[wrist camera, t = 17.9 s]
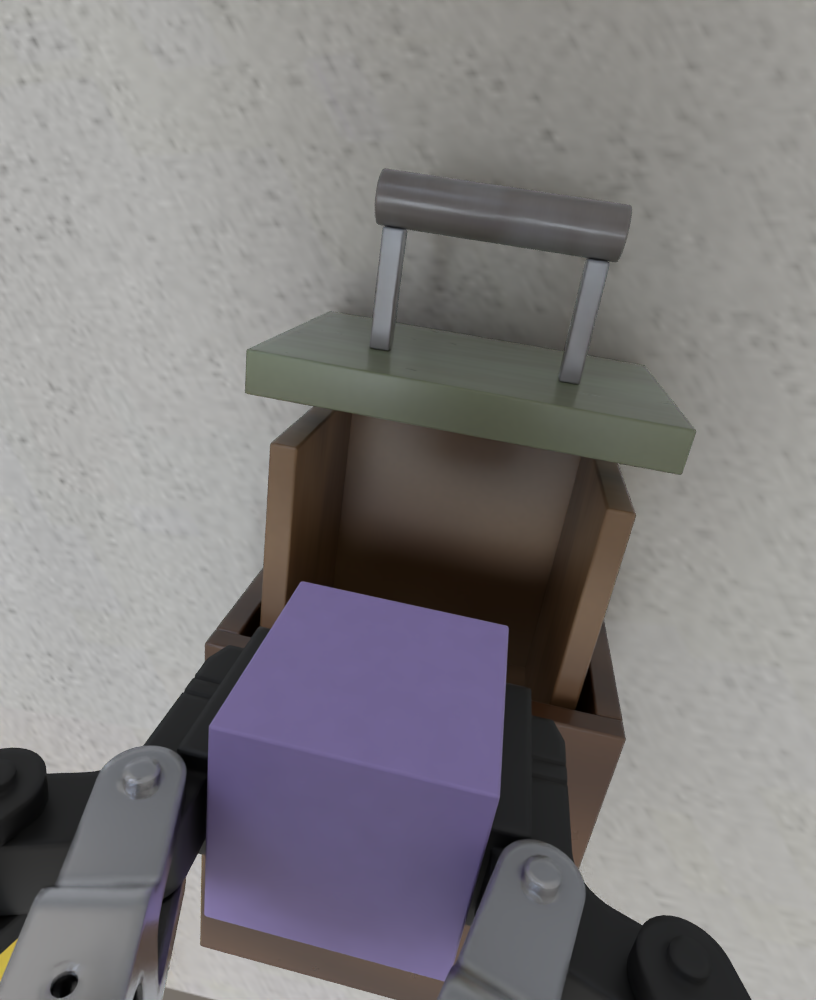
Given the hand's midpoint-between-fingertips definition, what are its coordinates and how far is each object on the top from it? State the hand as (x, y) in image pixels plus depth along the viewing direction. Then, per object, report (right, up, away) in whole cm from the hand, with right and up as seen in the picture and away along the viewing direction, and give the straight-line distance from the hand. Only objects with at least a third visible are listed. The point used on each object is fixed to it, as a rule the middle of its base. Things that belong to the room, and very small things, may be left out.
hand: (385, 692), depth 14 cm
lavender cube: (0, 0, 0) cm, 0 cm away
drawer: (+3, +6, +12) cm, 13 cm away
